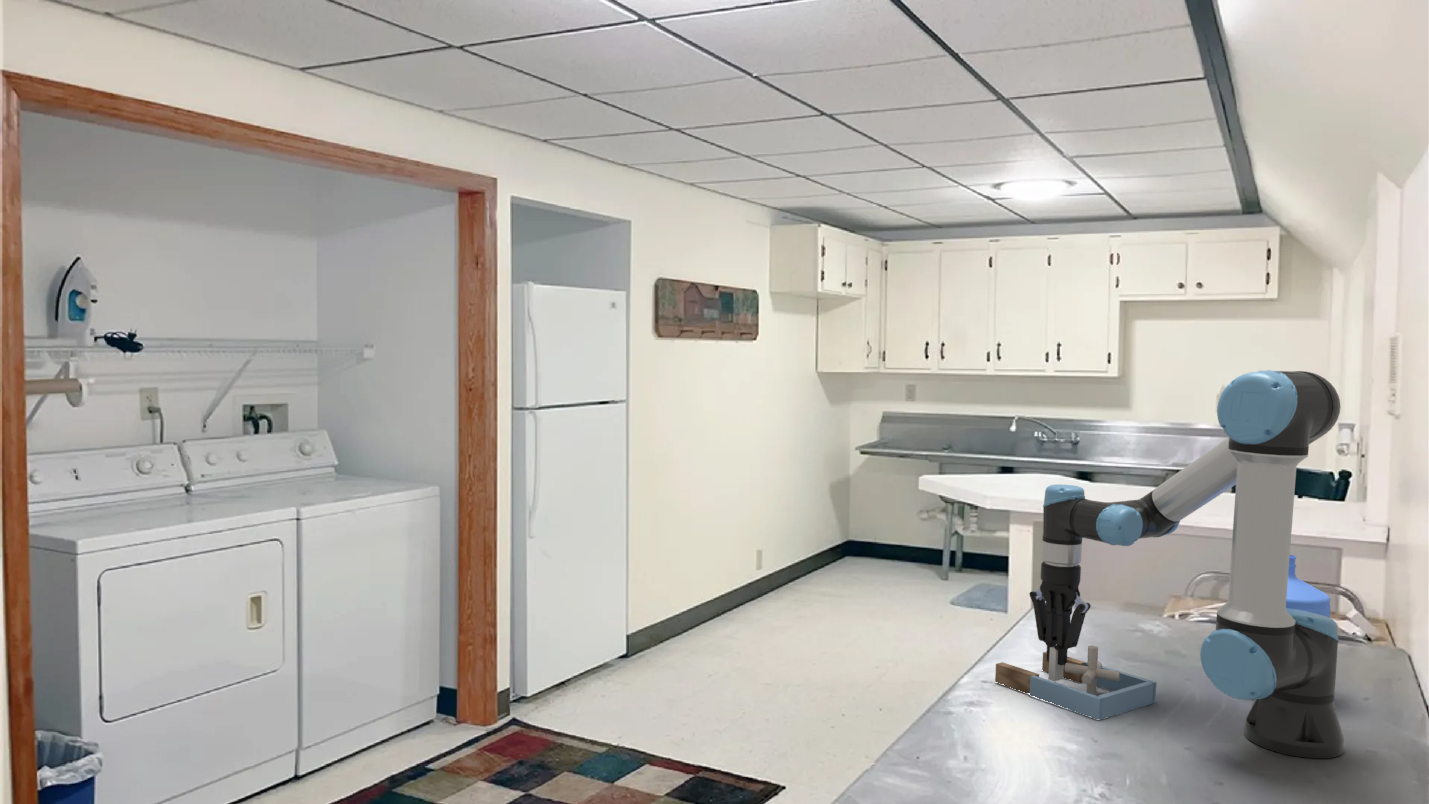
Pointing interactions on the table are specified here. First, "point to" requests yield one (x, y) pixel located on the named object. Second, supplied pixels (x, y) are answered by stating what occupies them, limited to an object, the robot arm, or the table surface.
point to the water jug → (1305, 594)
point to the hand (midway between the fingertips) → (1055, 679)
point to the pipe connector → (1092, 671)
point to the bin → (1123, 698)
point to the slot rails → (1029, 674)
